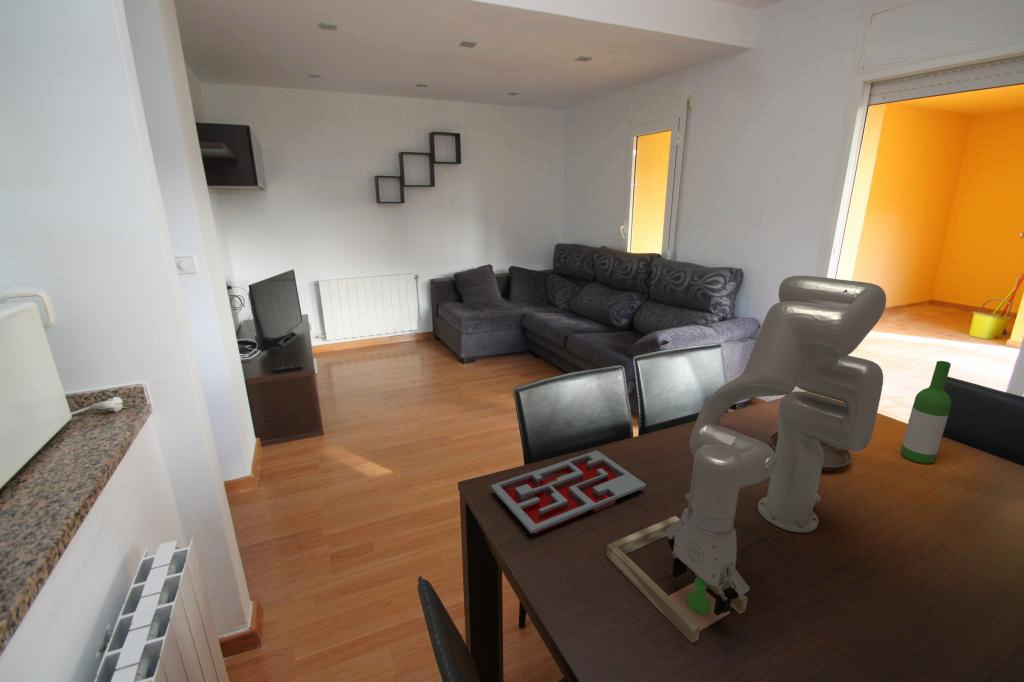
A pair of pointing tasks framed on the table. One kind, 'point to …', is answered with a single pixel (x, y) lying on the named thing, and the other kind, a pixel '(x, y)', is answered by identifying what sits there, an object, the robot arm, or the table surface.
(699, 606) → the game piece
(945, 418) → the wine bottle
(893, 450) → the table surface
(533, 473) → the maze game
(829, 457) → the plant saucer
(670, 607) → the bent track
